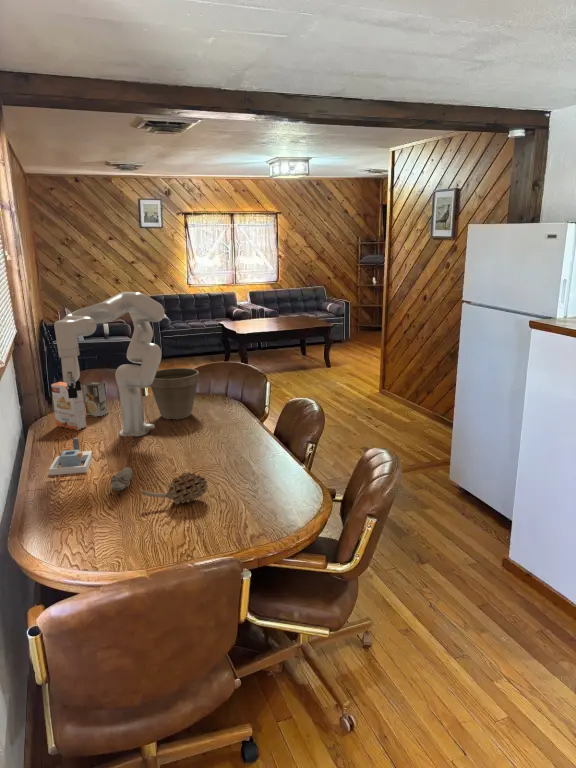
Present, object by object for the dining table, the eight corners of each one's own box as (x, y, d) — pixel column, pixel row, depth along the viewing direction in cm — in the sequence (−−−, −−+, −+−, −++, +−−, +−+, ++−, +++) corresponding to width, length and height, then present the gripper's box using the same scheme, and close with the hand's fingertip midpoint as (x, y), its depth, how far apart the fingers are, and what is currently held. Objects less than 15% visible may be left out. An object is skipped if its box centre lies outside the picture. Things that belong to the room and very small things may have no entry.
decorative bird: (137, 479, 205) (135, 460, 203) (123, 499, 189) (121, 479, 187) (122, 479, 205) (120, 460, 203) (107, 499, 189) (105, 479, 187)
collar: (65, 465, 216) (63, 450, 215) (84, 463, 218) (83, 449, 216) (61, 471, 211) (59, 456, 209) (81, 469, 212) (80, 455, 210)
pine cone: (206, 492, 193) (204, 465, 191) (210, 504, 184) (209, 476, 182) (139, 502, 187) (137, 474, 184) (141, 515, 178) (139, 486, 175)
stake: (92, 453, 230) (90, 434, 228) (88, 461, 222) (86, 441, 220) (67, 455, 229) (64, 435, 227) (62, 463, 220) (59, 443, 218)
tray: (92, 462, 221) (91, 453, 221) (86, 475, 209) (85, 466, 208) (57, 464, 219) (56, 456, 219) (49, 478, 207) (48, 469, 206)
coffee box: (109, 413, 284) (106, 382, 280) (101, 417, 278) (98, 385, 274) (93, 412, 287) (90, 381, 283) (85, 415, 281) (82, 384, 277)
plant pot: (145, 412, 285) (142, 370, 279) (193, 405, 295) (191, 365, 289) (156, 426, 263) (153, 381, 257) (207, 418, 273) (205, 375, 267)
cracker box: (55, 427, 264) (50, 384, 259) (66, 423, 269) (60, 381, 264) (77, 431, 258) (71, 387, 253) (87, 427, 263) (82, 384, 258)
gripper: (62, 347, 225) (69, 388, 229) (54, 357, 208) (61, 401, 213) (82, 346, 226) (88, 387, 231) (75, 356, 210) (82, 399, 214)
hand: (75, 394), depth 222 cm, fingers open, 9 cm apart
